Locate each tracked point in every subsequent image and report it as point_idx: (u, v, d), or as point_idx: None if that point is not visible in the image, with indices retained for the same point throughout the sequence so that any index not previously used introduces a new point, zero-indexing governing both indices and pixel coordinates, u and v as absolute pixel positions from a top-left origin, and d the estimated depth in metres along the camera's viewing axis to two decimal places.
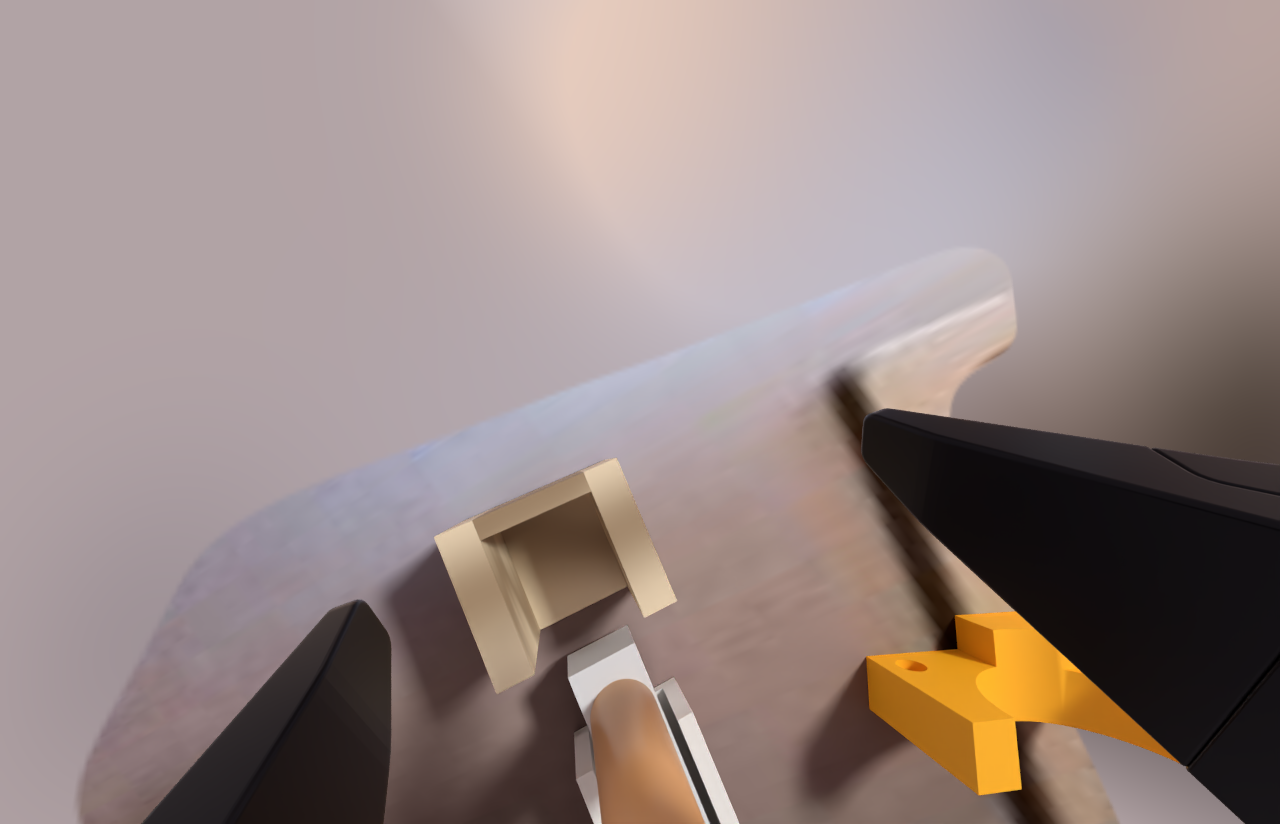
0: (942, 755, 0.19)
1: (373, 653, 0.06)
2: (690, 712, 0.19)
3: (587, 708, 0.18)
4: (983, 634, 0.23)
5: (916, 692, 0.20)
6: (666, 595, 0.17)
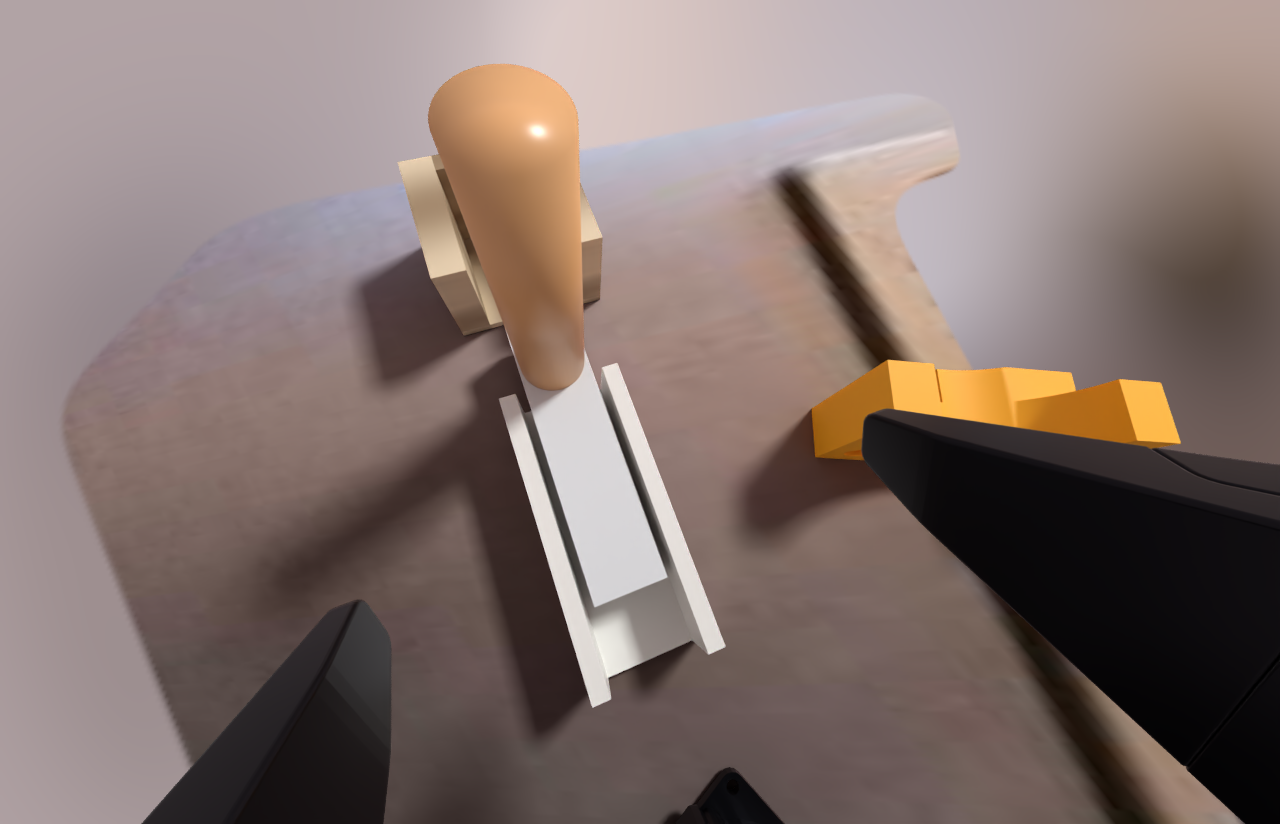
0: None
1: (373, 653, 0.06)
2: (615, 363, 0.20)
3: None
4: None
5: (847, 391, 0.20)
6: (593, 232, 0.19)
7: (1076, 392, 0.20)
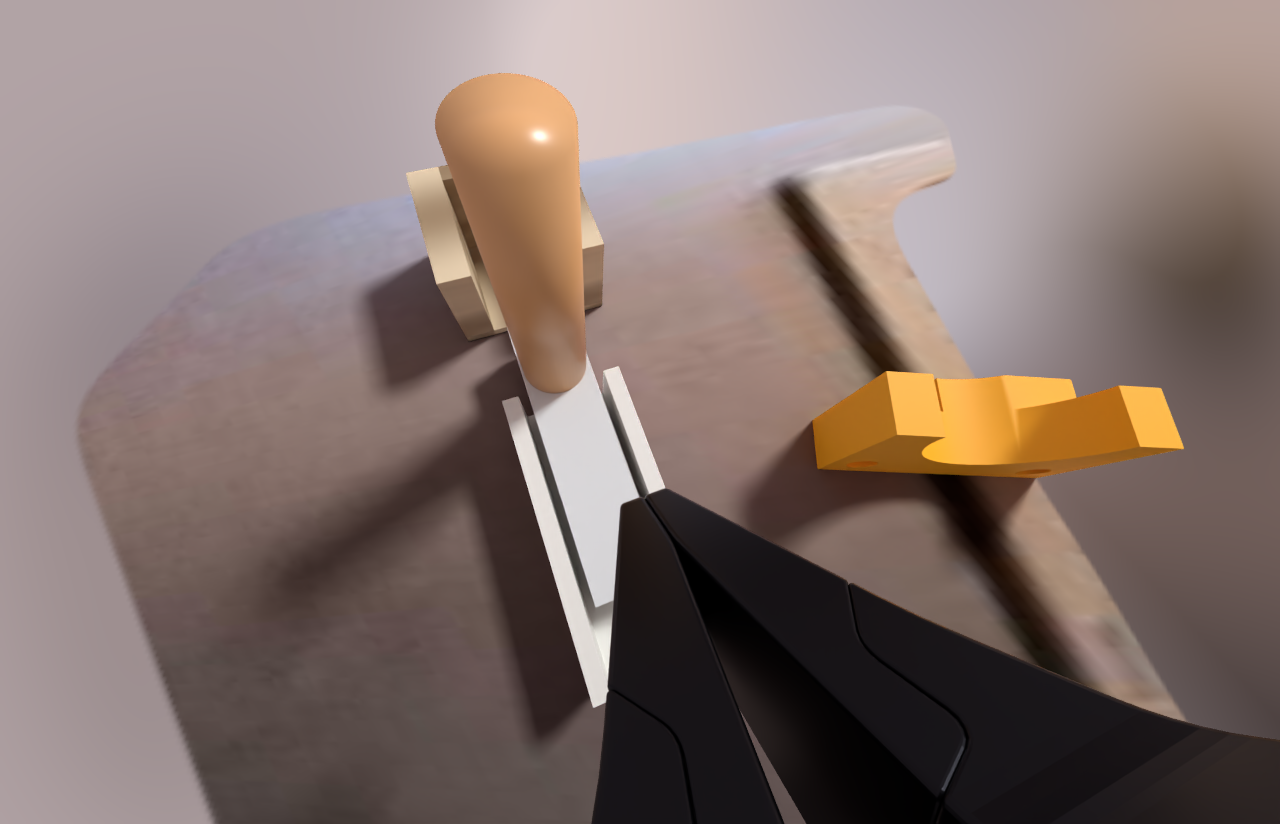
0: (869, 435, 0.18)
1: None
2: (616, 367, 0.20)
3: None
4: None
5: (847, 402, 0.20)
6: (594, 239, 0.20)
7: (1076, 399, 0.20)
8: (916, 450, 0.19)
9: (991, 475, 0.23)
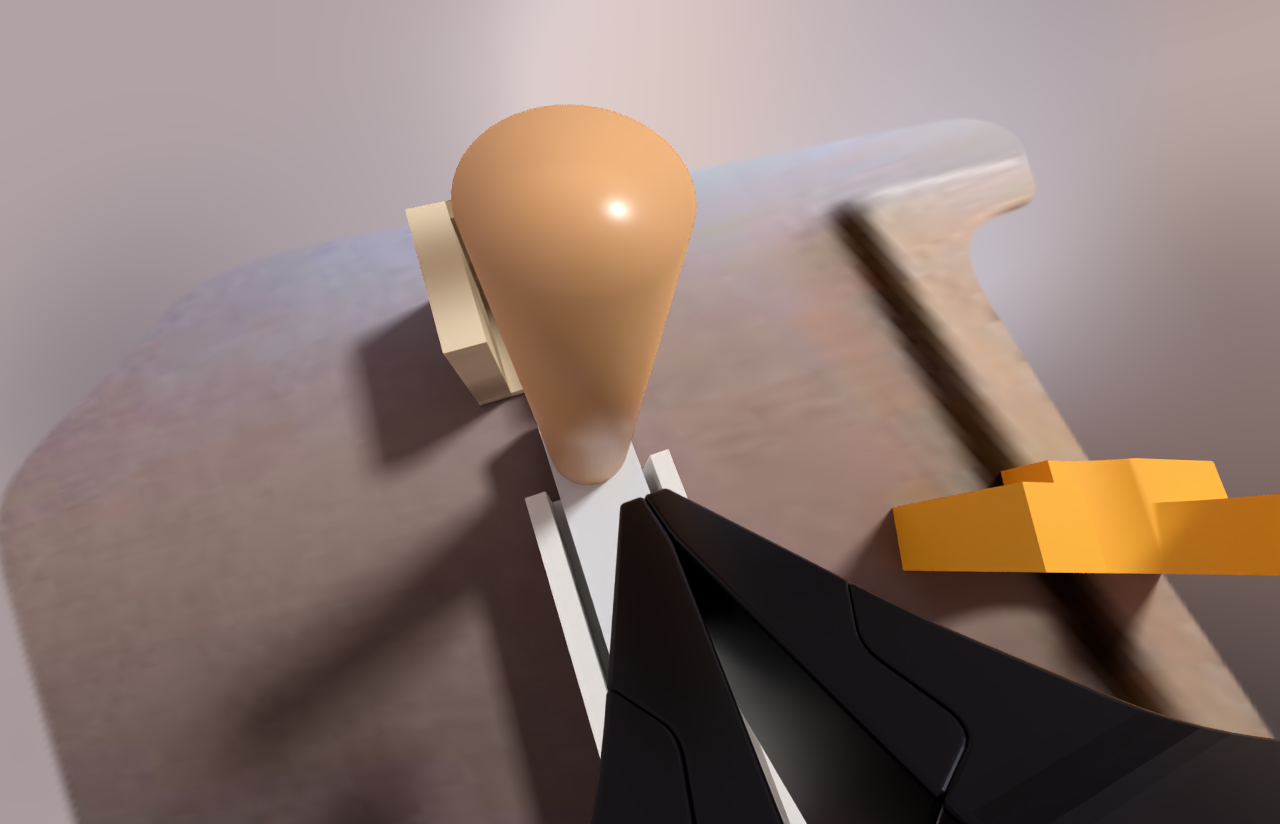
0: (993, 557, 0.14)
1: None
2: (665, 450, 0.16)
3: None
4: (1037, 473, 0.19)
5: (951, 502, 0.16)
6: None
7: (1242, 499, 0.16)
8: None
9: None
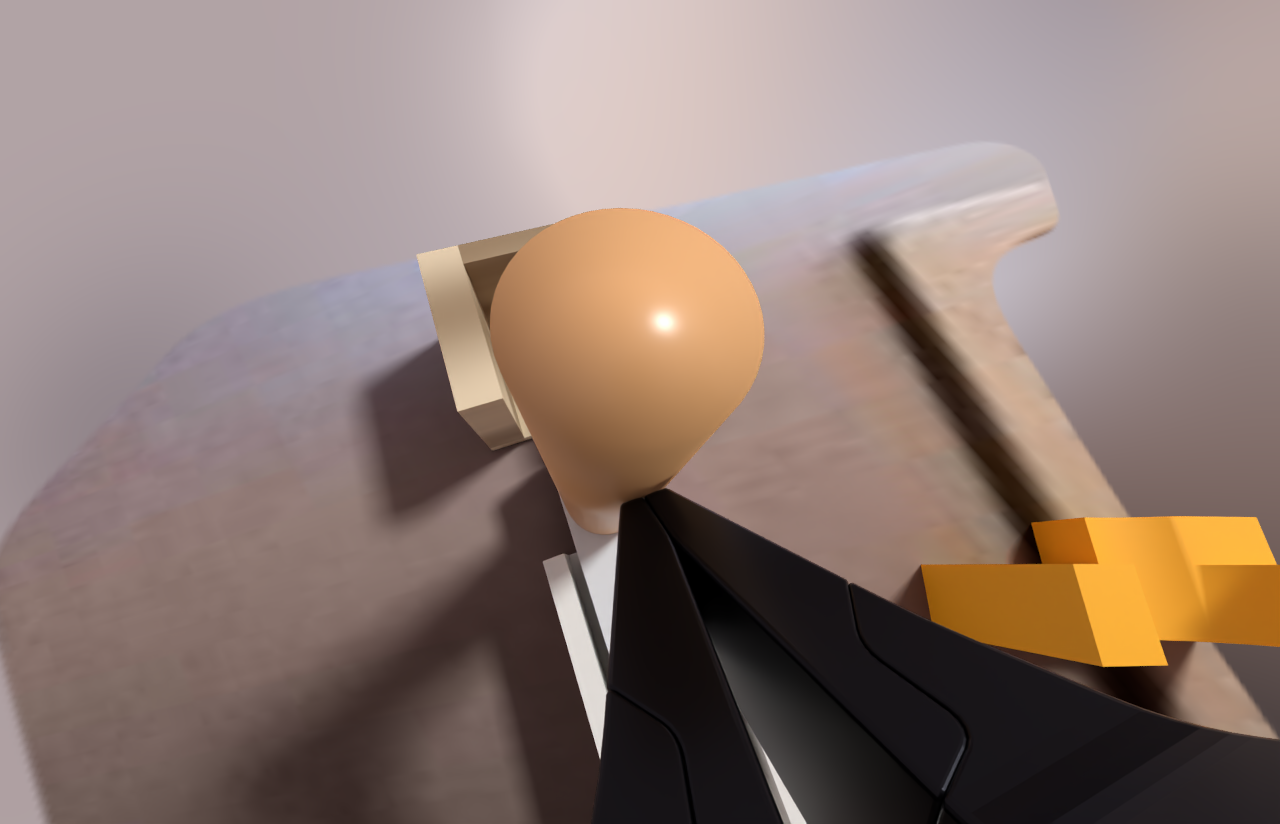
0: (1039, 638, 0.14)
1: None
2: None
3: None
4: (1072, 529, 0.18)
5: (989, 571, 0.15)
6: None
7: None
8: None
9: None
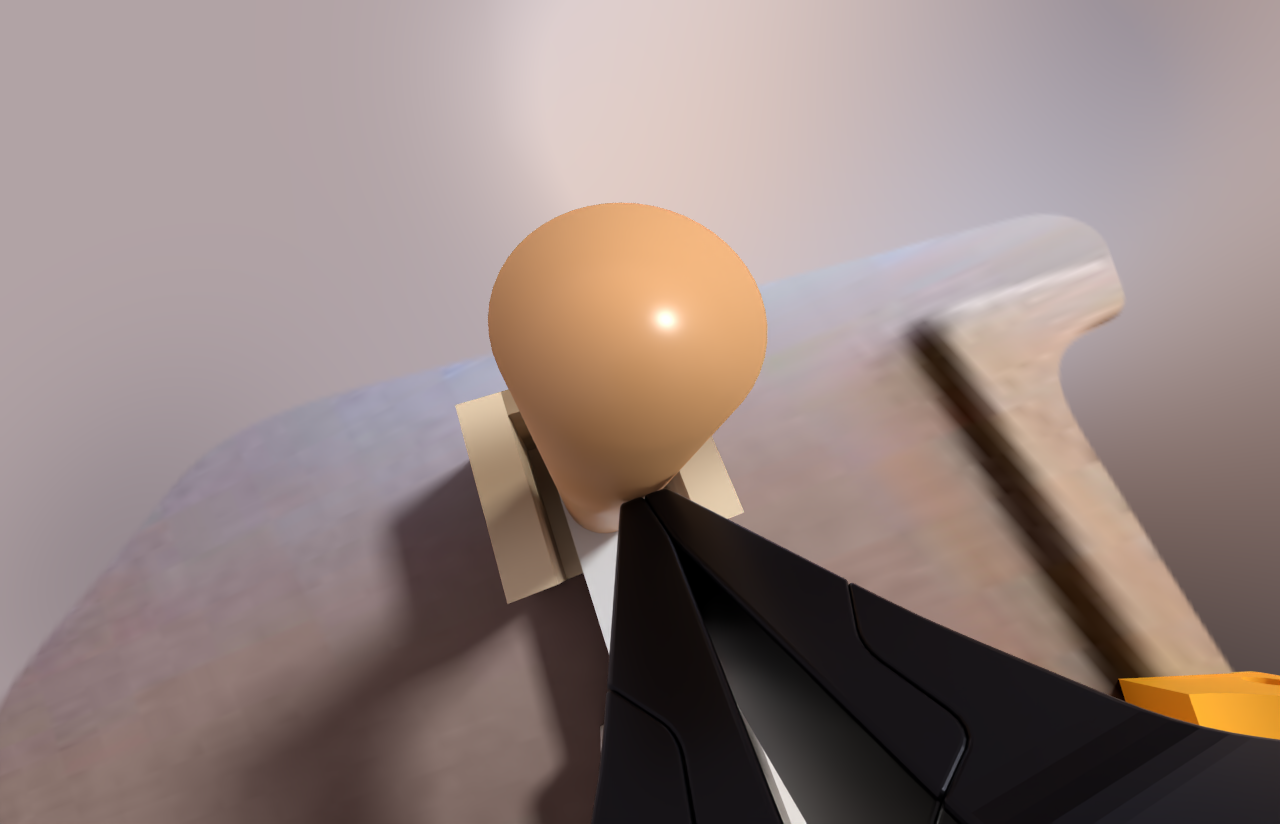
0: None
1: None
2: None
3: None
4: (1173, 703, 0.16)
5: None
6: (730, 504, 0.14)
7: None
8: None
9: None
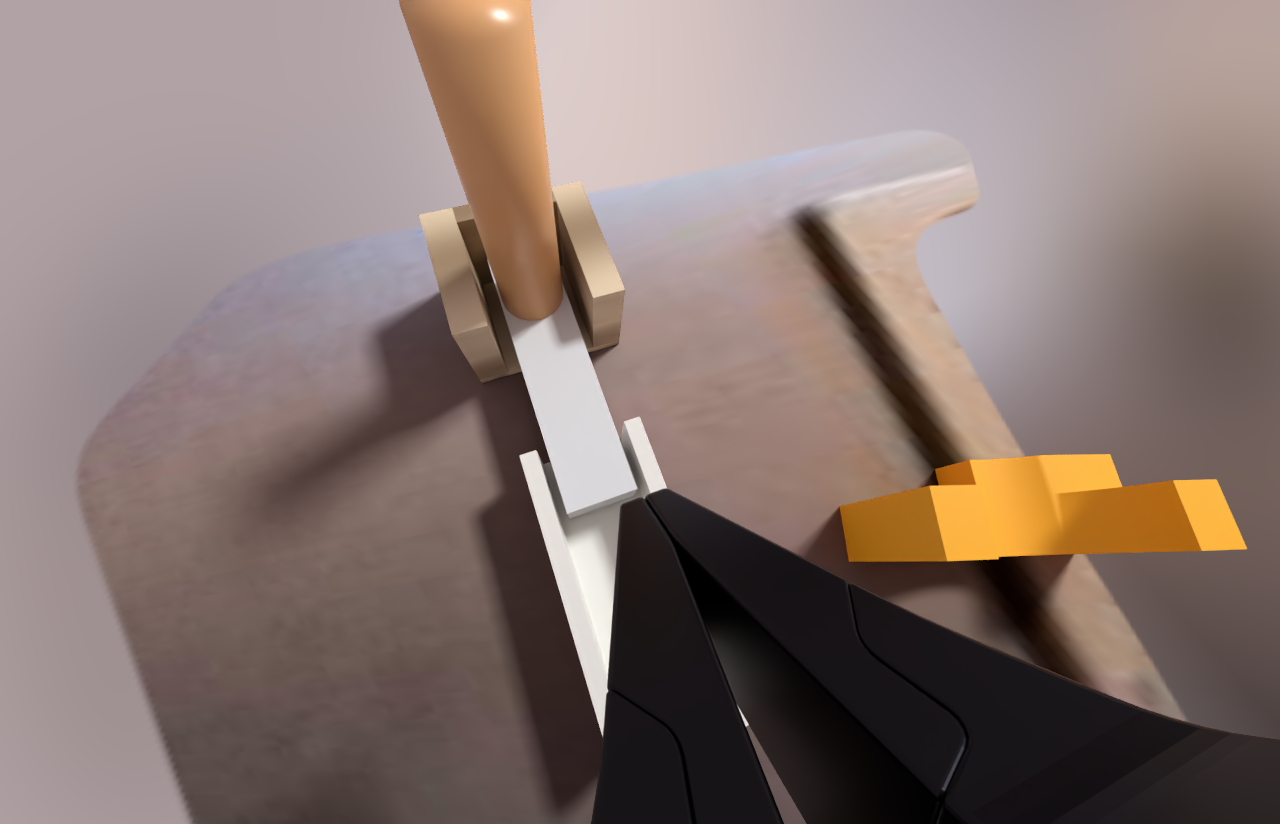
0: (911, 549, 0.17)
1: None
2: (637, 417, 0.19)
3: None
4: (962, 470, 0.22)
5: (882, 502, 0.19)
6: (615, 284, 0.19)
7: (1124, 488, 0.19)
8: None
9: None
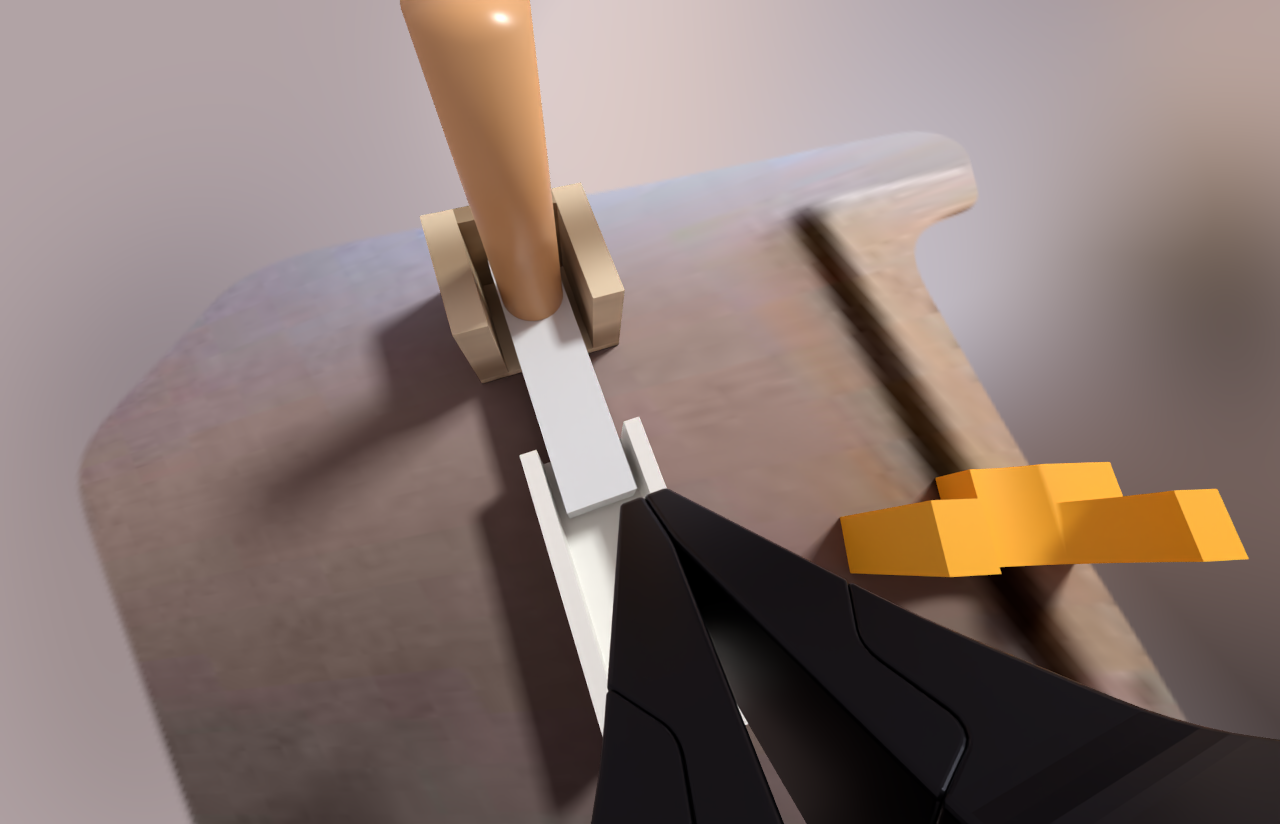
0: (913, 563, 0.17)
1: None
2: (637, 417, 0.19)
3: None
4: (962, 480, 0.21)
5: (883, 515, 0.19)
6: (615, 285, 0.19)
7: (1125, 498, 0.19)
8: None
9: None
